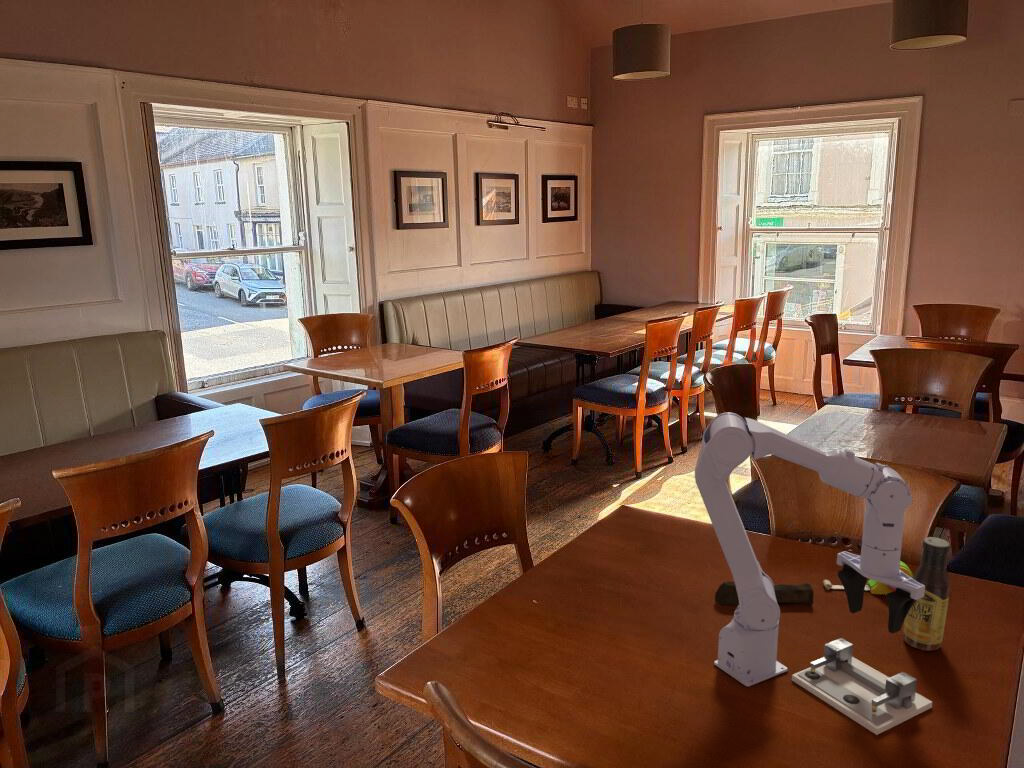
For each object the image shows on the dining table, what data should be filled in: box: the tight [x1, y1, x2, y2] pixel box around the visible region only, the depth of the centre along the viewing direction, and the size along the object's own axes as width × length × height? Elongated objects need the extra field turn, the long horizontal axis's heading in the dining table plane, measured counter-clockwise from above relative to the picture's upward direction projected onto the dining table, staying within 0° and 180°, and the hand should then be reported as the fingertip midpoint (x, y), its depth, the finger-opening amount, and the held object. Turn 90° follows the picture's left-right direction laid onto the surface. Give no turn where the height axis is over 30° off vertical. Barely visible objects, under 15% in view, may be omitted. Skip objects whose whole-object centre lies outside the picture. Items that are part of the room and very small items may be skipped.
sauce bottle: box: [902, 536, 952, 652], centre depth 137 cm, size 7×6×20 cm
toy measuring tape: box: [822, 560, 914, 596], centre depth 158 cm, size 6×20×7 cm, turn 81°
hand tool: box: [714, 581, 814, 606], centre depth 155 cm, size 19×4×5 cm, turn 87°
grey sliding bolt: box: [871, 671, 918, 712], centre depth 120 cm, size 8×2×4 cm, turn 119°
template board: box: [791, 656, 933, 736], centre depth 125 cm, size 13×16×2 cm
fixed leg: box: [809, 637, 854, 674], centre depth 130 cm, size 8×2×4 cm, turn 119°
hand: (874, 620), depth 127 cm, fingers open, 7 cm apart
